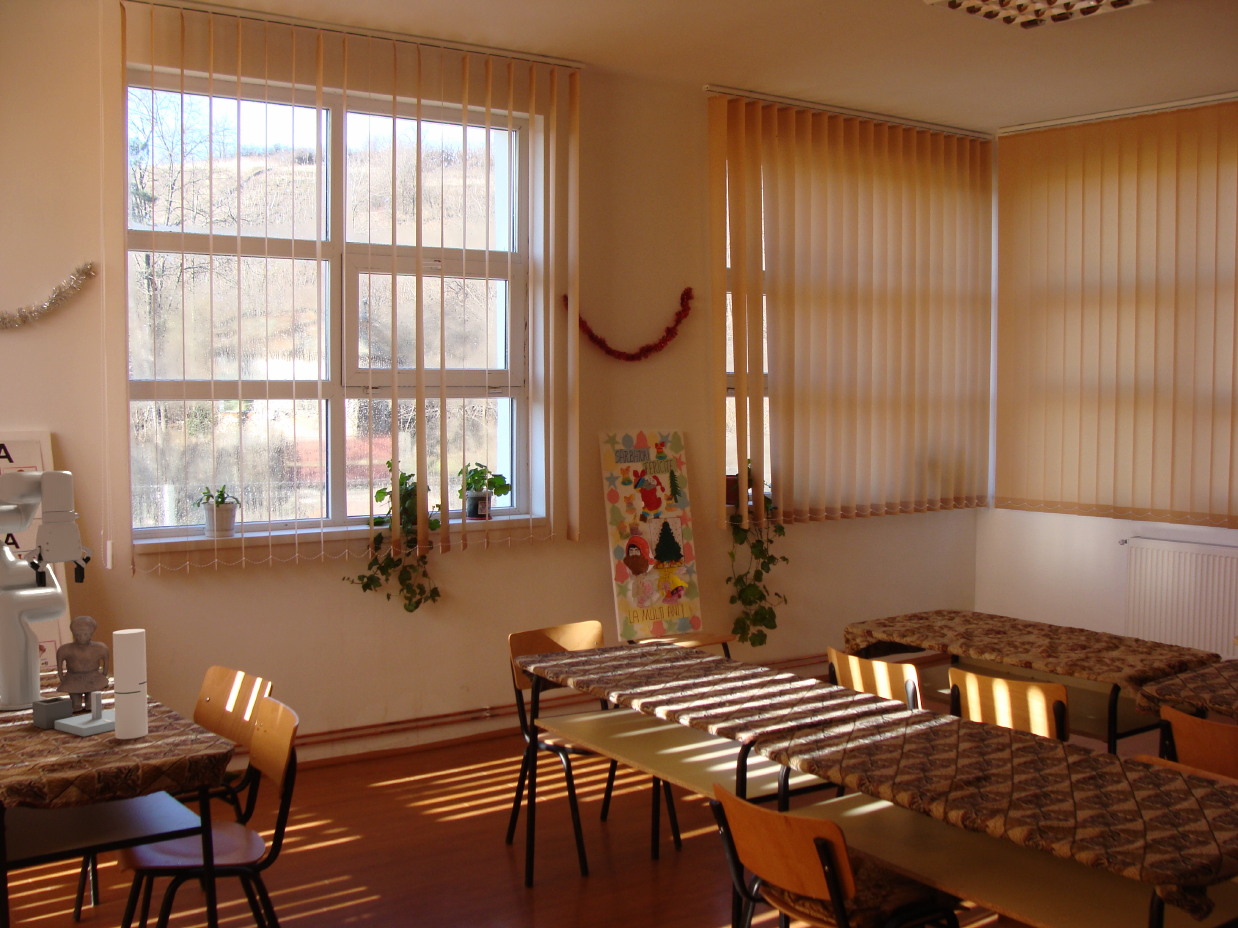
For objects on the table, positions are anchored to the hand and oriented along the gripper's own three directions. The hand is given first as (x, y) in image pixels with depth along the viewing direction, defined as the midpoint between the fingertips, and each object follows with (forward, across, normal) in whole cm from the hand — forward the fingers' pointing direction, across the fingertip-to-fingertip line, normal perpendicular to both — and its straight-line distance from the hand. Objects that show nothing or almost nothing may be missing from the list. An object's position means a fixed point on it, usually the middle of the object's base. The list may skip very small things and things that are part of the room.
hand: (60, 584), depth 276 cm
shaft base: (+35, 0, +16) cm, 38 cm away
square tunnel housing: (+35, +5, +4) cm, 35 cm away
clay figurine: (+35, -8, -6) cm, 36 cm away
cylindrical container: (+35, +1, +32) cm, 48 cm away
